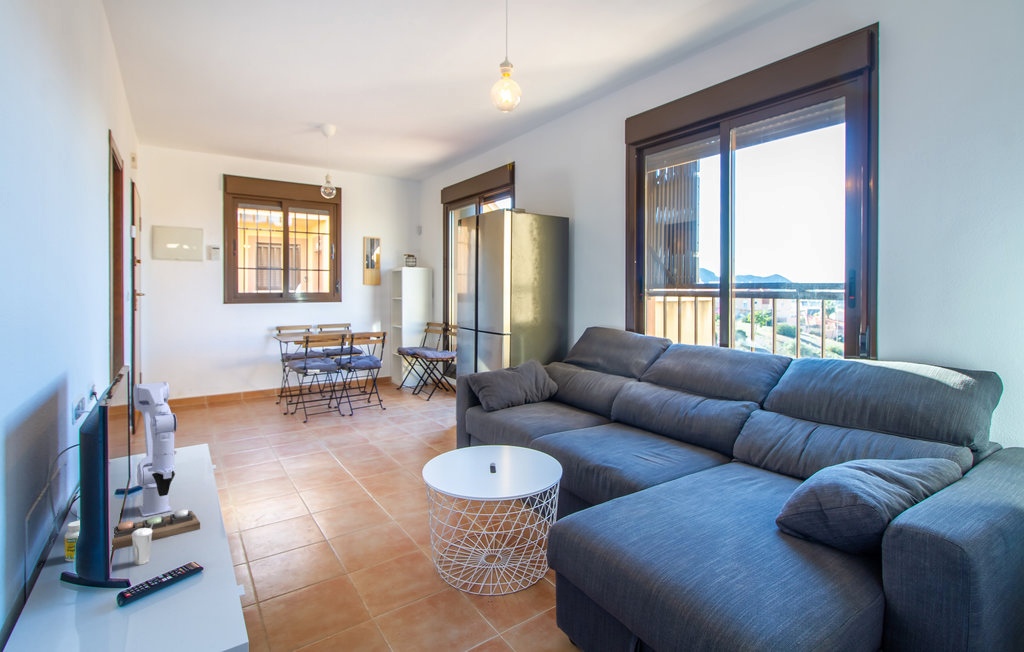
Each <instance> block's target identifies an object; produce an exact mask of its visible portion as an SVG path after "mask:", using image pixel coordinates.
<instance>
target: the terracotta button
mask: <svg viewBox="0 0 1024 652" xmlns="http://www.w3.org/2000/svg"><path fill="white" fill-rule="evenodd" d="M133 523H134V521H133V520H126V521H123V522H119V523H118V524H117V526H118V531H124V530H128V529H132V528H133Z"/></svg>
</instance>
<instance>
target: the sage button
mask: <svg viewBox="0 0 1024 652" xmlns="http://www.w3.org/2000/svg"><path fill="white" fill-rule="evenodd" d="M161 517H162V516H155V517H150V518H148V519H146V520H147V525H151V524H152V522H154V523H153V524H155V523H160V522H161Z"/></svg>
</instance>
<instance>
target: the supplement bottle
mask: <svg viewBox="0 0 1024 652" xmlns="http://www.w3.org/2000/svg"><path fill="white" fill-rule="evenodd" d="M79 530H80V520H75V521H72V522H69V523H68V524H67V531H66V533H65V534H64V560H65V561H66V562H76V561H75V558H74V555H75V544H76V541H77V538H78V536H79ZM65 557H67V558H65Z"/></svg>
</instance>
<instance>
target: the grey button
mask: <svg viewBox="0 0 1024 652" xmlns="http://www.w3.org/2000/svg"><path fill="white" fill-rule="evenodd" d="M188 511H189V510H188V509H187V508H185V509H184V508H183V509H182V508H181V509H178V510H176V511H174V513H173V514H174V518H175V519H177V518H182V517H186V516H188Z"/></svg>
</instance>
